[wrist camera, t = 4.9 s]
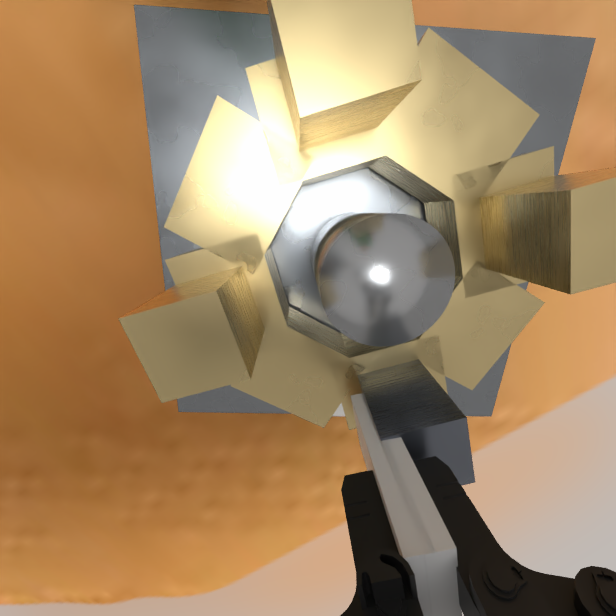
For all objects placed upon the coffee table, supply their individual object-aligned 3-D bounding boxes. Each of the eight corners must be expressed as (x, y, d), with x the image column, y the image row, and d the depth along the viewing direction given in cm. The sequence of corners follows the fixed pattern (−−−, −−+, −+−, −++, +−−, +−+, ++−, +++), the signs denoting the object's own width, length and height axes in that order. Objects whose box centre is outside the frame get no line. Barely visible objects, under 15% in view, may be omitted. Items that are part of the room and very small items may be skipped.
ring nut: (256, 417, 18) (231, 539, 11) (143, 135, 13) (-18, 55, 7) (514, 350, 17) (654, 439, 11) (493, 24, 13) (727, -201, 6)
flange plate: (187, 397, 20) (117, 513, 12) (151, 26, 14) (-33, -208, 6) (477, 402, 21) (582, 513, 13) (566, 55, 15) (861, -118, 7)
